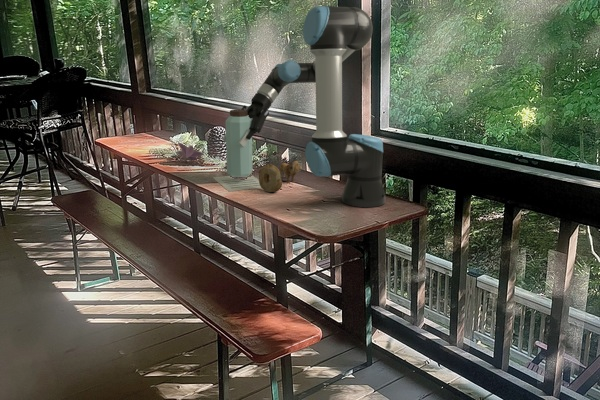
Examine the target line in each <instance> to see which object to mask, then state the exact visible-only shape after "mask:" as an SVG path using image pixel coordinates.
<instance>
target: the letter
mask: <svg viewBox="0 0 600 400" xmlns="http://www.w3.org/2000/svg"><path fill="white" fill-rule="evenodd" d="M251 175H252V176H251V177H248V178H247V179H245V180H239V179H234V178H232V177H230V175H225V176H214V177H212V179H213V180H215V181H216V182H217V183H218V184H219V185H220V186H222V187H223V188H224V189H225V190H227V191H228V192H234V191H246V190H256V189H257V190H258V189H262V188H261V186H260V184H259V178H257V177H256V176H254V175H253V174H251Z"/></svg>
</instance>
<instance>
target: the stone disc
mask: <svg viewBox="0 0 600 400" xmlns="http://www.w3.org/2000/svg"><path fill="white" fill-rule="evenodd" d="M258 180H259V184H260V186H261V188H260V189H262V190H263V191H264V192H267V193H276V192H278V191H280V190H281V189H282V186H283V181H282V180H281V178H280V168H278V167H277V166H276V165H274V164H267V165H263V166H261V168H260V169H259V172H258Z"/></svg>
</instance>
